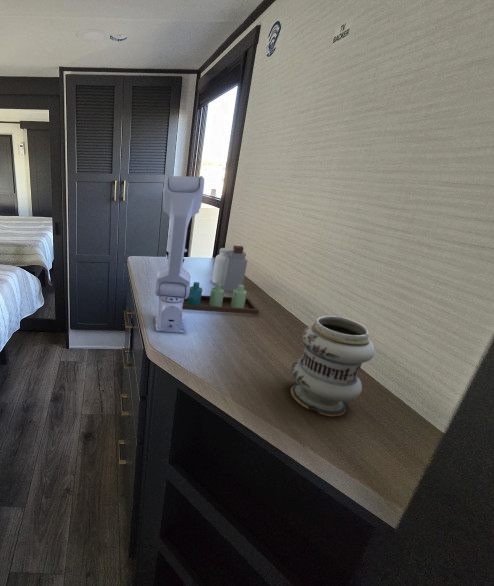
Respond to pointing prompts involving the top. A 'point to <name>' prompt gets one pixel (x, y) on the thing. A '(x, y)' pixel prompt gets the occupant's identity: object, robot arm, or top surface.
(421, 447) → the top surface
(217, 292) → the green bottle middle
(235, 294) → the green bottle far
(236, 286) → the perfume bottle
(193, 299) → the teal bottle
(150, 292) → the top surface
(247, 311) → the tray
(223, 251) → the pill bottle
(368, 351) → the apothecary jar
